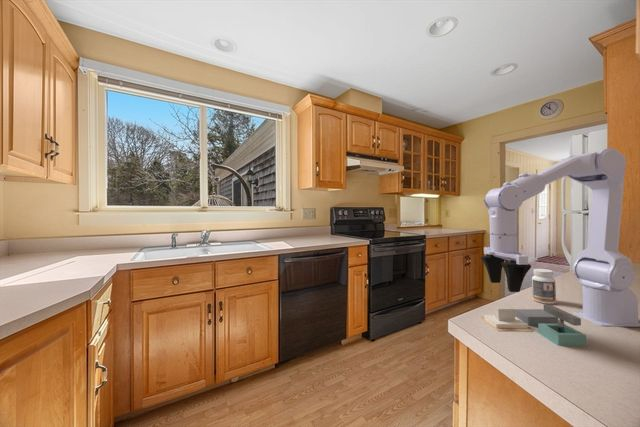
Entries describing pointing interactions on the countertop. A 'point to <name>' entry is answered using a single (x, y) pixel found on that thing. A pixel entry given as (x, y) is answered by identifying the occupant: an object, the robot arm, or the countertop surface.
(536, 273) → the pill bottle
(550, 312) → the t key
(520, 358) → the countertop surface
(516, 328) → the cork mat
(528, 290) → the countertop surface
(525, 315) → the box
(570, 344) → the key socket
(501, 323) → the cover
